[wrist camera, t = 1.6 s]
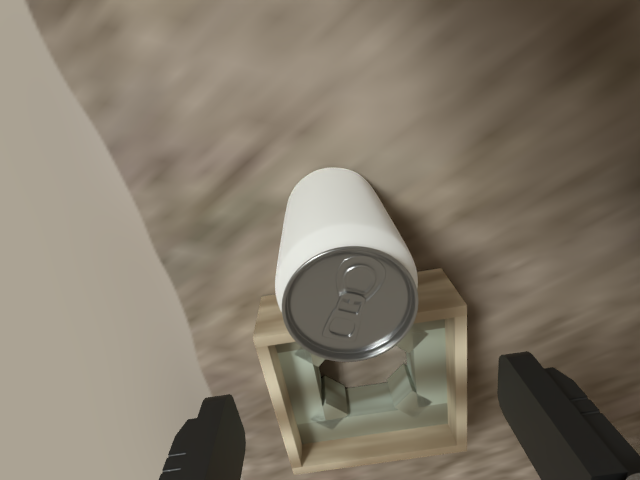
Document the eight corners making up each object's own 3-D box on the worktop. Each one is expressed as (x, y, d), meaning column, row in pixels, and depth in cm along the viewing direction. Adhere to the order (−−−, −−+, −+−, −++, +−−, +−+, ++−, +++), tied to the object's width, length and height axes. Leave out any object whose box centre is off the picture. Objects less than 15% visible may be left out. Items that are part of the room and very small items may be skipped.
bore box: (261, 296, 29) (252, 338, 24) (441, 268, 28) (466, 305, 23) (295, 421, 34) (293, 474, 30) (445, 400, 34) (467, 450, 29)
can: (390, 179, 25) (455, 258, 14) (361, 260, 28) (396, 381, 17) (299, 154, 24) (292, 218, 13) (277, 240, 27) (256, 354, 16)
